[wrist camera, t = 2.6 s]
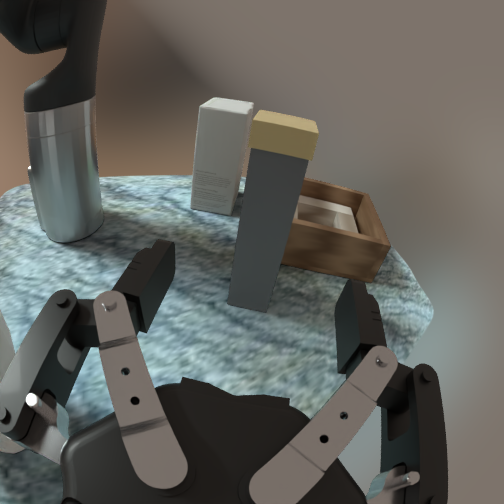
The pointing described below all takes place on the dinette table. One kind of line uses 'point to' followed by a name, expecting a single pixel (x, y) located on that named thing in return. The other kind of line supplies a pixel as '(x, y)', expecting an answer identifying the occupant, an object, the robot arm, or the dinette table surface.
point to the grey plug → (269, 204)
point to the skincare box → (219, 154)
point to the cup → (3, 353)
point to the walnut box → (336, 233)
